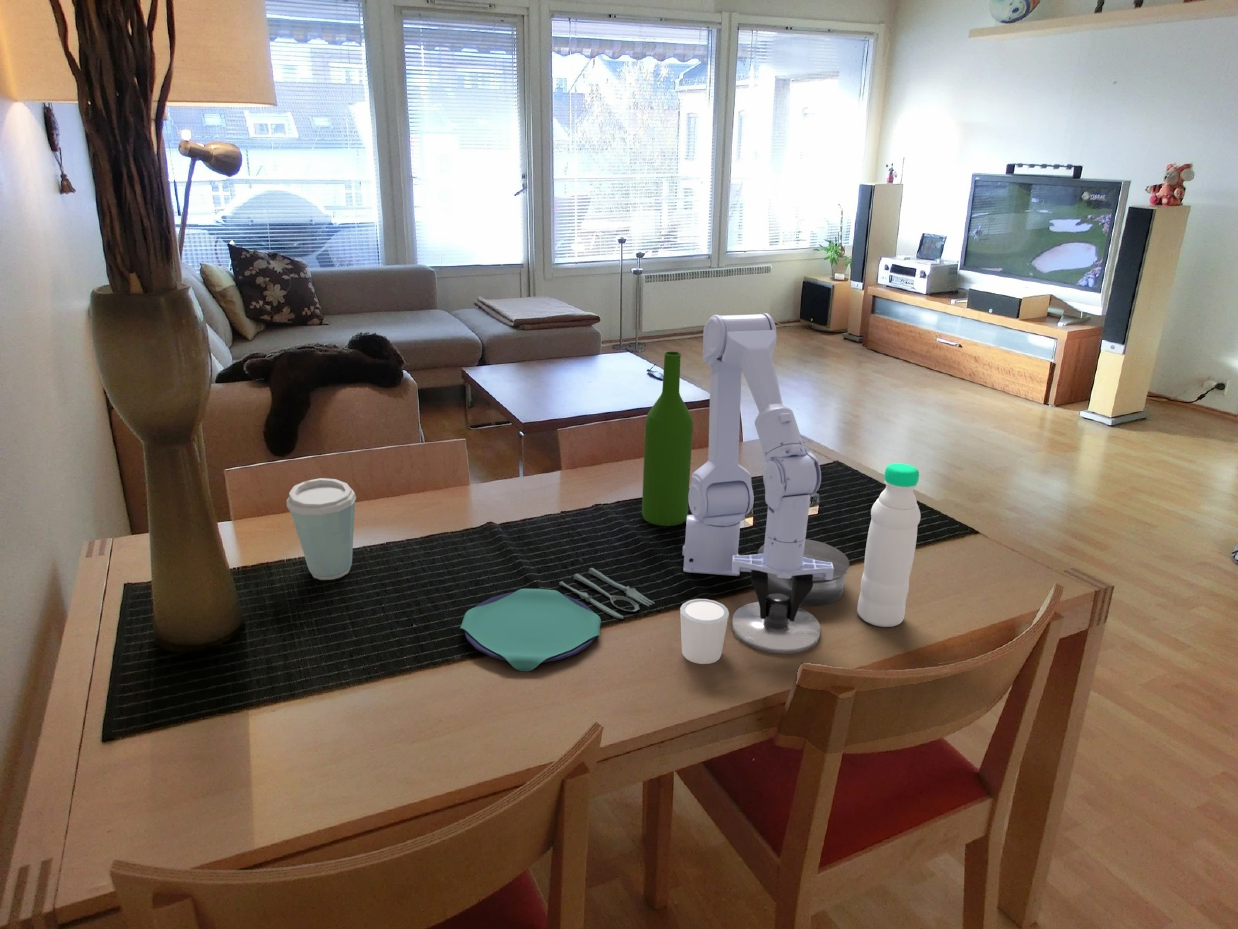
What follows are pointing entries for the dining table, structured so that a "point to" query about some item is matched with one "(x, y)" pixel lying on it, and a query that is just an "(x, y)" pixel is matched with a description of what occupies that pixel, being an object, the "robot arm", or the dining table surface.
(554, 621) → the cutlery set
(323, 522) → the disposable coffee cup
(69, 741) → the dining table surface
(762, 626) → the steel lid
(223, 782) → the dining table surface
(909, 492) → the water bottle
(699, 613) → the white cup
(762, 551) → the cooking pot
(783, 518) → the robot arm
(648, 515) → the wine bottle
